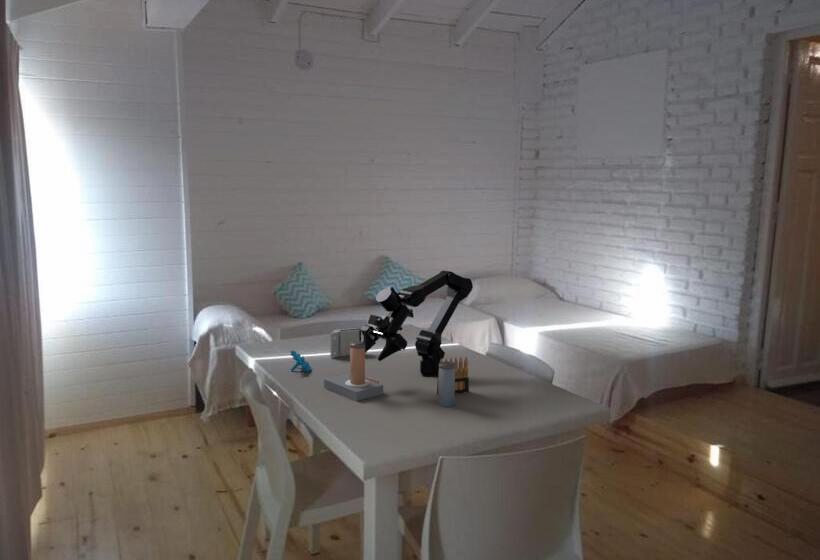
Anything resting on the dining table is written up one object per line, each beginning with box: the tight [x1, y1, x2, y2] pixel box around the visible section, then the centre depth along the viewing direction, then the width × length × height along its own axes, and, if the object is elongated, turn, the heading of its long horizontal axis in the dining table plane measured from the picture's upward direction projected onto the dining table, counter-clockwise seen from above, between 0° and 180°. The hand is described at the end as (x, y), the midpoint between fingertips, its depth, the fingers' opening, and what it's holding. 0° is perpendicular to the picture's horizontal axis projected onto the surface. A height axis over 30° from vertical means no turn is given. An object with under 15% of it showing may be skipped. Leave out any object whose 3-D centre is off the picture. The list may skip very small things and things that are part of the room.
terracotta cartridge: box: [349, 341, 366, 385], centre depth 216 cm, size 5×5×13 cm
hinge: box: [329, 327, 362, 359], centre depth 263 cm, size 14×5×10 cm, turn 123°
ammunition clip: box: [436, 356, 470, 396], centre depth 218 cm, size 11×2×12 cm, turn 110°
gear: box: [289, 350, 312, 372], centre depth 242 cm, size 11×6×10 cm
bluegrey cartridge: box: [438, 361, 456, 408], centre depth 206 cm, size 5×5×13 cm
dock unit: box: [323, 372, 384, 402], centre depth 219 cm, size 12×18×4 cm, turn 42°
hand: (369, 357), depth 219 cm, fingers open, 9 cm apart
